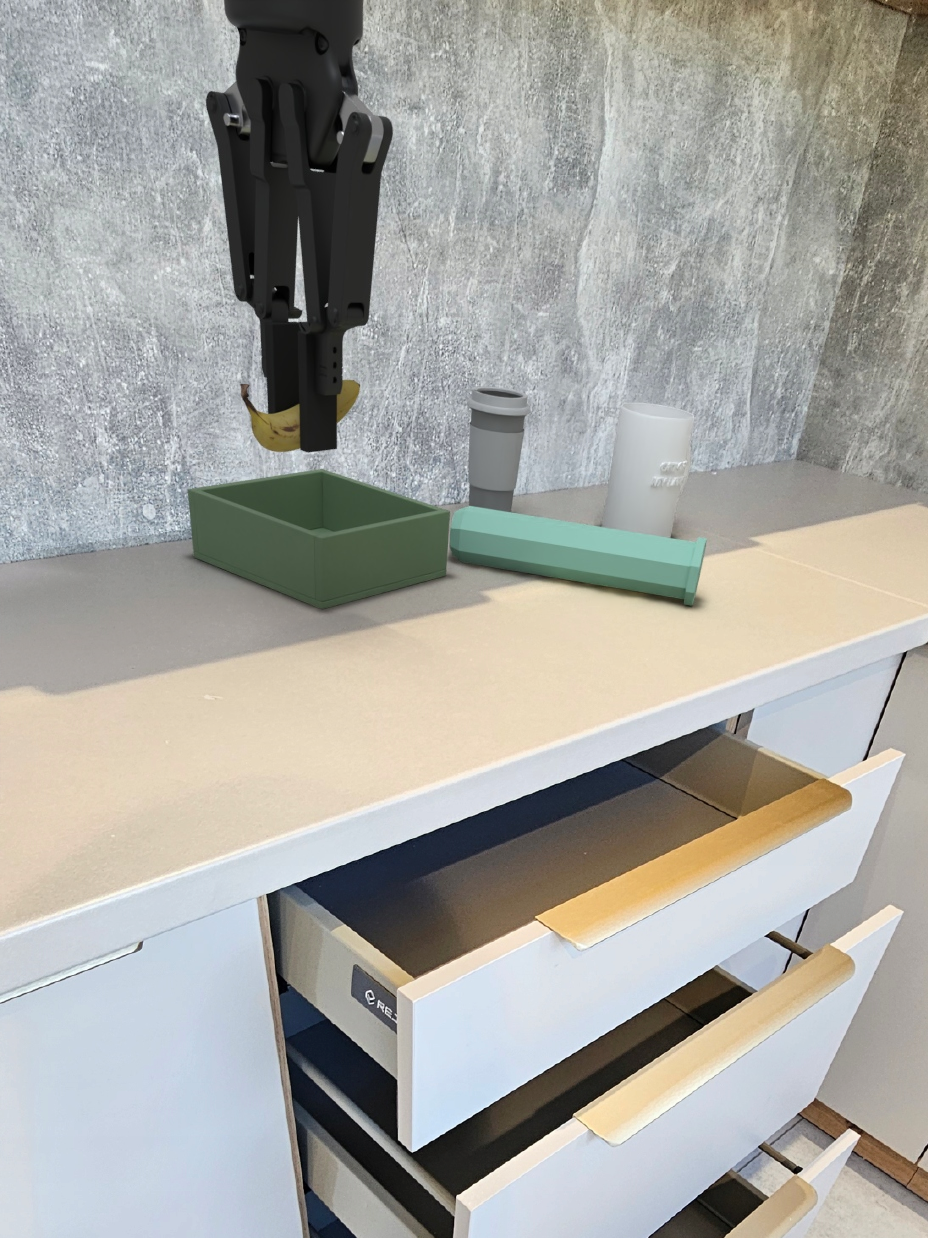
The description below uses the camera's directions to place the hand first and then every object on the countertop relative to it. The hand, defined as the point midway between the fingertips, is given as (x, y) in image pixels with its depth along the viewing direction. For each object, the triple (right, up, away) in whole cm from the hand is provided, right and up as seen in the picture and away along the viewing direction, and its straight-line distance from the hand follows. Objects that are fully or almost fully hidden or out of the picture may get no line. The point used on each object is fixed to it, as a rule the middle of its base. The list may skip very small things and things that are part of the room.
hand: (302, 443), depth 69 cm
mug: (+31, +19, +47) cm, 59 cm away
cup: (+12, +19, +44) cm, 49 cm away
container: (+21, +6, +31) cm, 37 cm away
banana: (0, 0, 0) cm, 1 cm away
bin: (-3, +4, +25) cm, 26 cm away
